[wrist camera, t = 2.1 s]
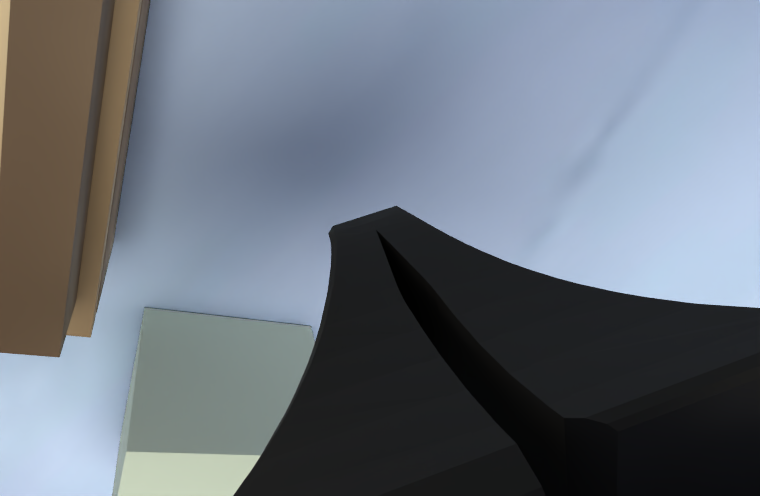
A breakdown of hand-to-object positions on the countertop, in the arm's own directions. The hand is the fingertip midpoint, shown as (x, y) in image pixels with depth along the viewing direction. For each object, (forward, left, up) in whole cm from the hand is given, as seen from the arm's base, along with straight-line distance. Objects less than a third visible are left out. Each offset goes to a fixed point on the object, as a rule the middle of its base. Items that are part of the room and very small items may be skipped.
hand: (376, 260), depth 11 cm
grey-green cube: (+1, +10, -8) cm, 13 cm away
